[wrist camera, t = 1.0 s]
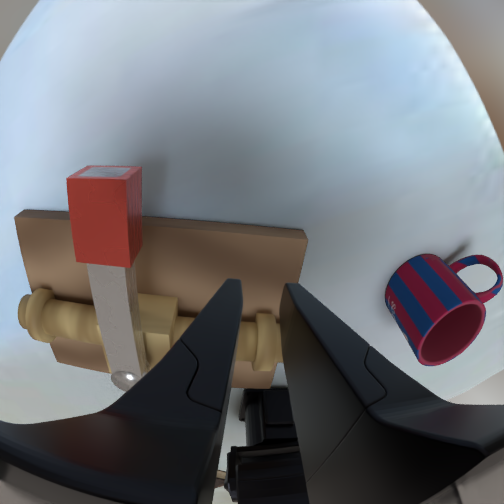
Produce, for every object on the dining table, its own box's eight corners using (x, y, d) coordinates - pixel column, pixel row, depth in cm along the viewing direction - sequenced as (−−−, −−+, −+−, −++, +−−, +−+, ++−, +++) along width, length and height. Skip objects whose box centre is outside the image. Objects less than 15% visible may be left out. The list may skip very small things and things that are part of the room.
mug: (374, 281, 24) (408, 337, 18) (463, 219, 22) (513, 258, 16) (396, 326, 27) (425, 377, 21) (474, 271, 24) (513, 311, 18)
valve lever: (155, 374, 20) (150, 399, 18) (118, 369, 19) (111, 393, 17) (141, 166, 13) (126, 179, 11) (88, 165, 13) (66, 178, 11)
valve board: (268, 377, 29) (274, 429, 24) (62, 352, 27) (41, 395, 21) (303, 230, 21) (326, 279, 16) (24, 209, 19) (-22, 245, 14)
